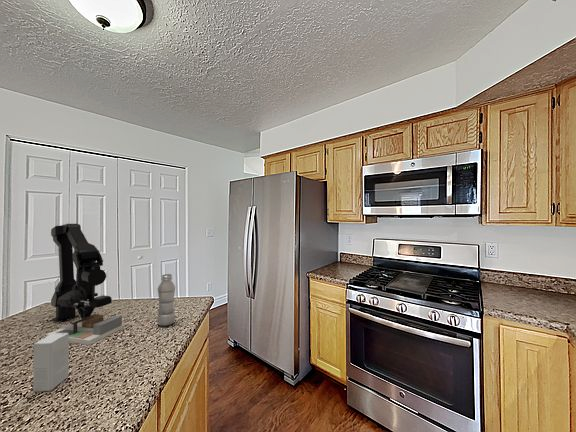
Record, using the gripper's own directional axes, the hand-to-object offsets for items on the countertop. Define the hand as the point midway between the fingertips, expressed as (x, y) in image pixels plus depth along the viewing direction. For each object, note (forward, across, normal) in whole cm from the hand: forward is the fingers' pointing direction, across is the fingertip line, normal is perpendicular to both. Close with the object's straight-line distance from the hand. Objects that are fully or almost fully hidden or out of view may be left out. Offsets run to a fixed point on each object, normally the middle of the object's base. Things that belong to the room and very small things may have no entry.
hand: (84, 322), depth 99 cm
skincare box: (+3, +23, -27) cm, 36 cm away
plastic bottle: (+3, +26, +13) cm, 29 cm away
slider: (+2, +4, -2) cm, 5 cm away
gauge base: (+3, +3, -1) cm, 4 cm away
